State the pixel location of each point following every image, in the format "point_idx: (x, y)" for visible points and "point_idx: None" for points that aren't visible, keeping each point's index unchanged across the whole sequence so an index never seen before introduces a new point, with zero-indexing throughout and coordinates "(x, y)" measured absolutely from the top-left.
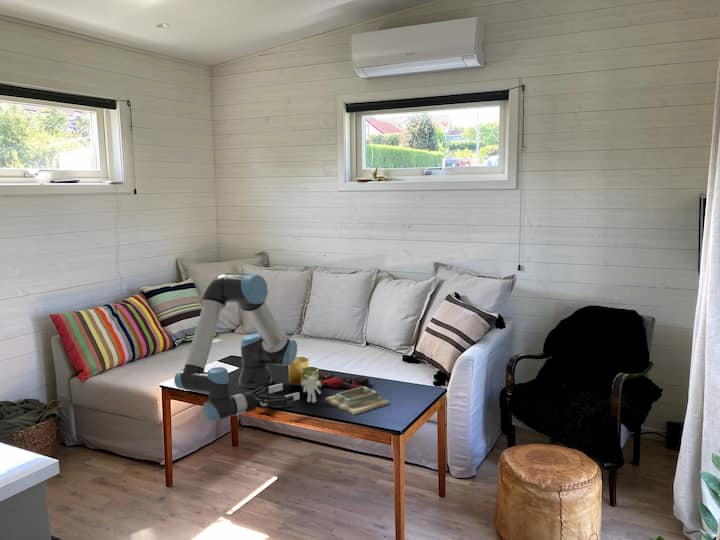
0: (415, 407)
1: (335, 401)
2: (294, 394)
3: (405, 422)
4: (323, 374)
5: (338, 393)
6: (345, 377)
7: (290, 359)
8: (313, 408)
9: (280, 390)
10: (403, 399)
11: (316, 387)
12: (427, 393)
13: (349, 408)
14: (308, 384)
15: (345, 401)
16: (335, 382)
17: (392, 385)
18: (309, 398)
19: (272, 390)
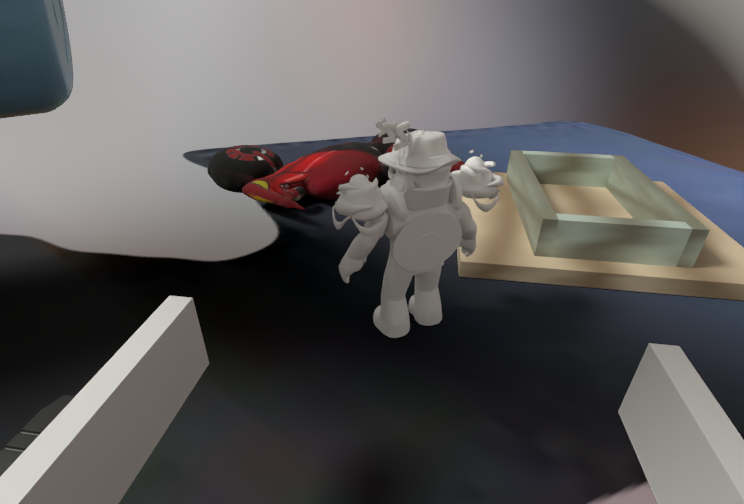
0: (732, 178)
1: (554, 262)
2: (728, 430)
3: None
4: (237, 153)
5: (546, 210)
6: (349, 143)
7: (58, 42)
8: (550, 383)
9: (190, 389)
10: None
11: (470, 213)
12: (603, 136)
13: (717, 276)
14: (418, 208)
15: (660, 242)
16: (354, 169)
17: (477, 140)
18: (406, 310)
19: (98, 493)
